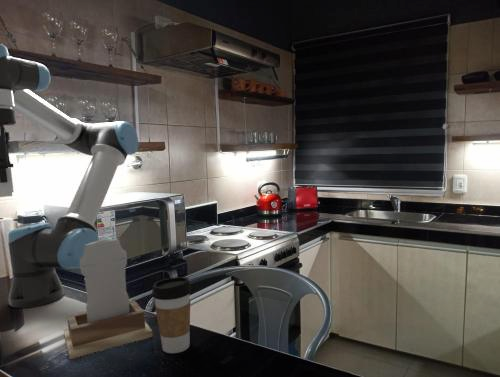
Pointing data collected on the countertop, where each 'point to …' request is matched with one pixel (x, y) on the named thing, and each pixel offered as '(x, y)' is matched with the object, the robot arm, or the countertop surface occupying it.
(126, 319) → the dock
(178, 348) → the coffee cup
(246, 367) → the countertop surface
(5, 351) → the countertop surface
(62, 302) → the countertop surface
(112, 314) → the tall pale column
